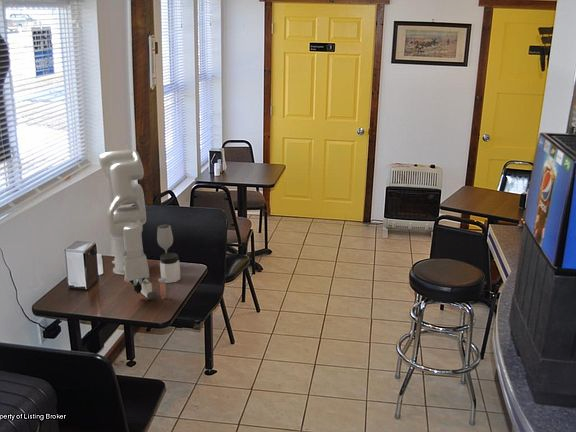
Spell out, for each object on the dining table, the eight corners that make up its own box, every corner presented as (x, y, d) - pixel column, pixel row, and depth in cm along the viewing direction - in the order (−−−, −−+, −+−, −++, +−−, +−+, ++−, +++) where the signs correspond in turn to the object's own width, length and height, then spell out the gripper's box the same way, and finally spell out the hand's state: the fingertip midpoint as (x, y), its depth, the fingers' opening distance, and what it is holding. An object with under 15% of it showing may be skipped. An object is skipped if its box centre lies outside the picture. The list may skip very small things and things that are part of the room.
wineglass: (156, 267, 314) (152, 226, 307) (169, 262, 319) (166, 223, 312) (165, 271, 309) (161, 230, 302) (178, 266, 314) (175, 226, 307)
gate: (134, 288, 289) (132, 272, 286) (141, 287, 290) (139, 270, 288) (148, 300, 276) (146, 283, 274) (155, 298, 278) (153, 282, 276)
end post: (158, 298, 279) (156, 279, 276) (163, 295, 282) (162, 277, 279) (163, 300, 277) (161, 281, 275) (169, 297, 280) (167, 279, 277)
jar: (183, 280, 298) (181, 256, 294) (168, 284, 293) (165, 260, 289) (173, 274, 304) (171, 251, 301) (158, 279, 300) (156, 255, 296)
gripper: (118, 258, 266) (123, 299, 272) (153, 252, 273) (157, 291, 278) (114, 253, 273) (119, 292, 278) (149, 247, 279) (153, 285, 285)
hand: (138, 292), depth 278 cm, fingers closed
